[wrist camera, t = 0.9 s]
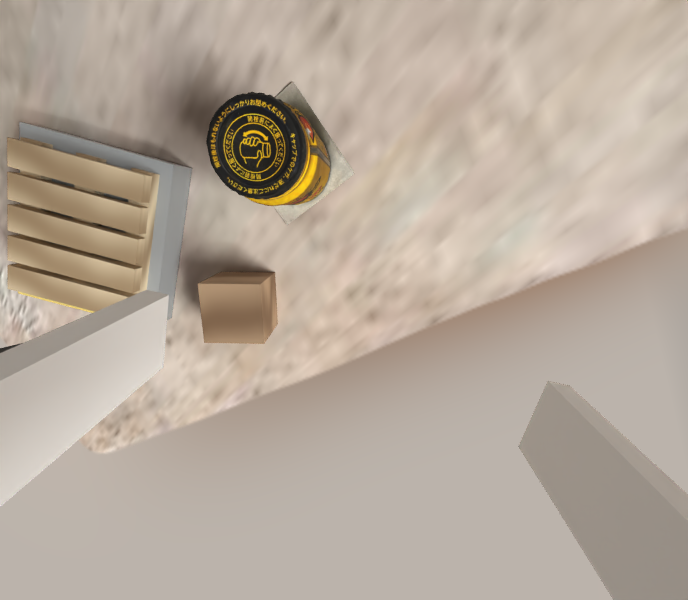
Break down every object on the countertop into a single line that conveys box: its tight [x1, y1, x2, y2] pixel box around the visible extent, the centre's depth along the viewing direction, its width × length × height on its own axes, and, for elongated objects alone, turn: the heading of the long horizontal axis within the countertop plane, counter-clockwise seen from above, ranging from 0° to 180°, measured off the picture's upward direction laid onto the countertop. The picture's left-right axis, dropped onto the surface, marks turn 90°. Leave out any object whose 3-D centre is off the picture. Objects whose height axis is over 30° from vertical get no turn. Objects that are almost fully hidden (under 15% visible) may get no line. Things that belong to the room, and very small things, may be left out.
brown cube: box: [198, 272, 278, 344], centre depth 30 cm, size 5×5×5 cm
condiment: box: [207, 82, 355, 225], centre depth 24 cm, size 7×8×12 cm
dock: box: [18, 122, 192, 320], centre depth 30 cm, size 14×12×3 cm
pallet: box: [7, 137, 160, 312], centre depth 28 cm, size 12×10×2 cm
